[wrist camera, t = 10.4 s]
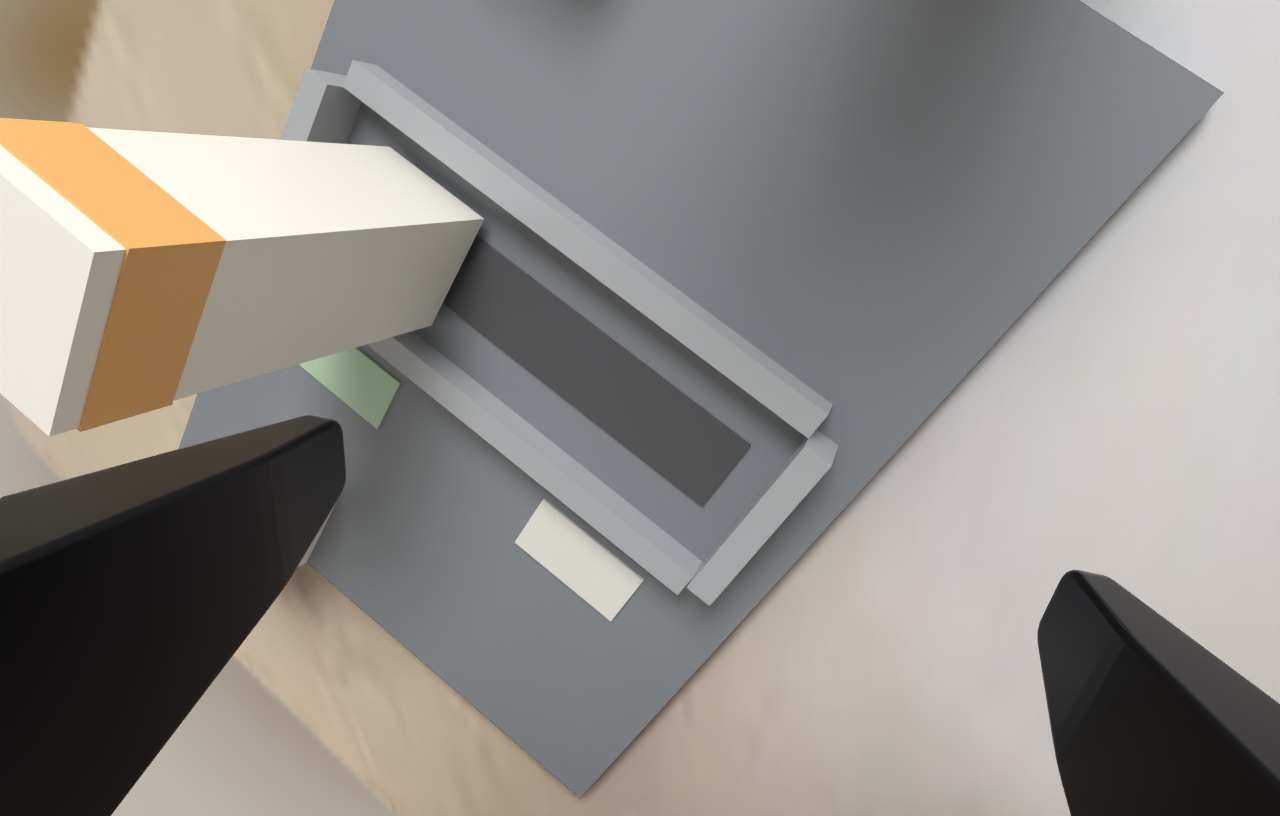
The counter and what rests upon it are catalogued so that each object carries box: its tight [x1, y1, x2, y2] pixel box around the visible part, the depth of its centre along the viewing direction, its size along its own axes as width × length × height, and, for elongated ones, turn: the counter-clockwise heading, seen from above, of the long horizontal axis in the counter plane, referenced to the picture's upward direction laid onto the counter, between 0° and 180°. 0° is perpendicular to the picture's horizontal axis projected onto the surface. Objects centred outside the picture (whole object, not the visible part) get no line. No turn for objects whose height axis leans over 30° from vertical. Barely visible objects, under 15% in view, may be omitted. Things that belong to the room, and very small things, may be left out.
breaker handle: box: [0, 118, 484, 436], centre depth 17 cm, size 4×4×11 cm
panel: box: [179, 0, 1224, 798], centre depth 21 cm, size 20×27×3 cm
